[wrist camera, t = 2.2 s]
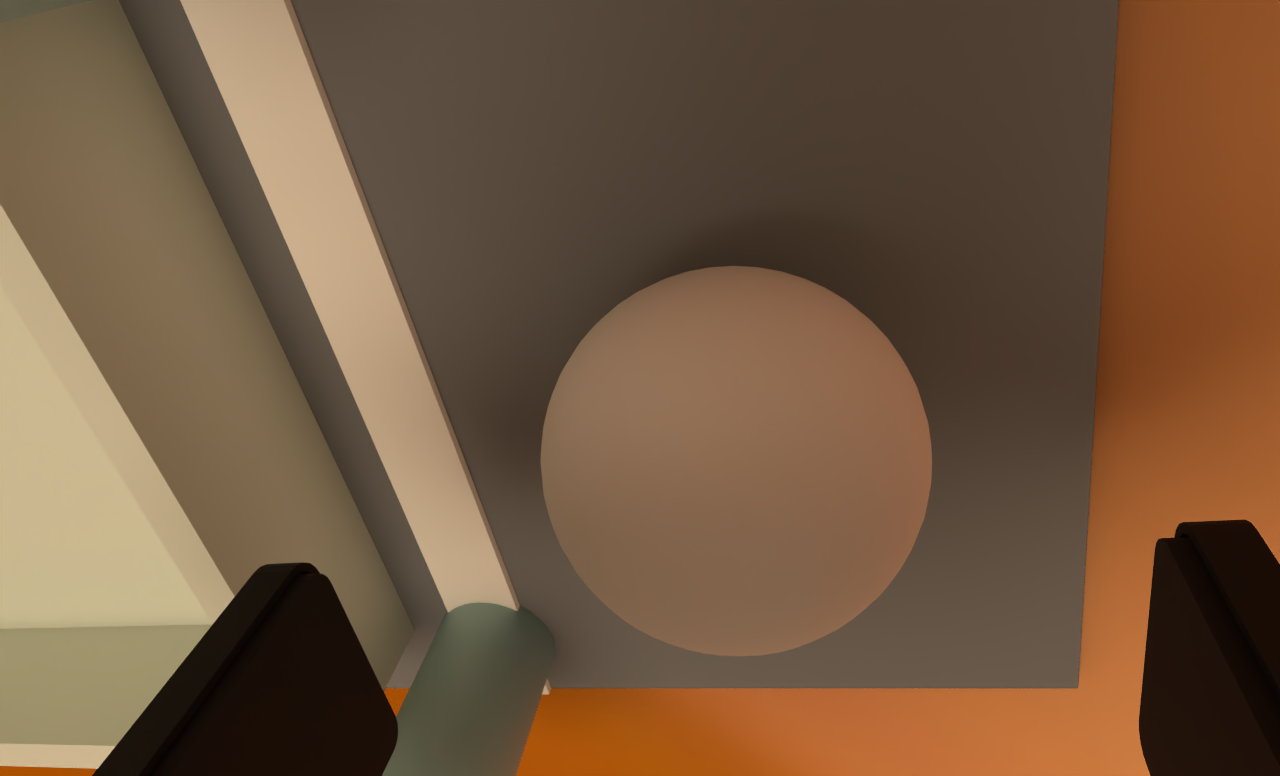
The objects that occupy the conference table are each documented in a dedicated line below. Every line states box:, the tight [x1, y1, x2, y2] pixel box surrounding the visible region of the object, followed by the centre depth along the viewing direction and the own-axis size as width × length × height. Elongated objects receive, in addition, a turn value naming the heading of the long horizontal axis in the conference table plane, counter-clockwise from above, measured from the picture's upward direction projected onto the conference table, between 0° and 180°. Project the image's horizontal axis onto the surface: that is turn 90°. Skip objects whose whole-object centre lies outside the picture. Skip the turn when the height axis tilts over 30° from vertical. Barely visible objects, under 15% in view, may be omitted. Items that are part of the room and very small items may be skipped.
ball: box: [540, 266, 932, 656], centre depth 12 cm, size 5×5×5 cm
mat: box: [119, 0, 1119, 694], centre depth 15 cm, size 17×27×1 cm, turn 102°
